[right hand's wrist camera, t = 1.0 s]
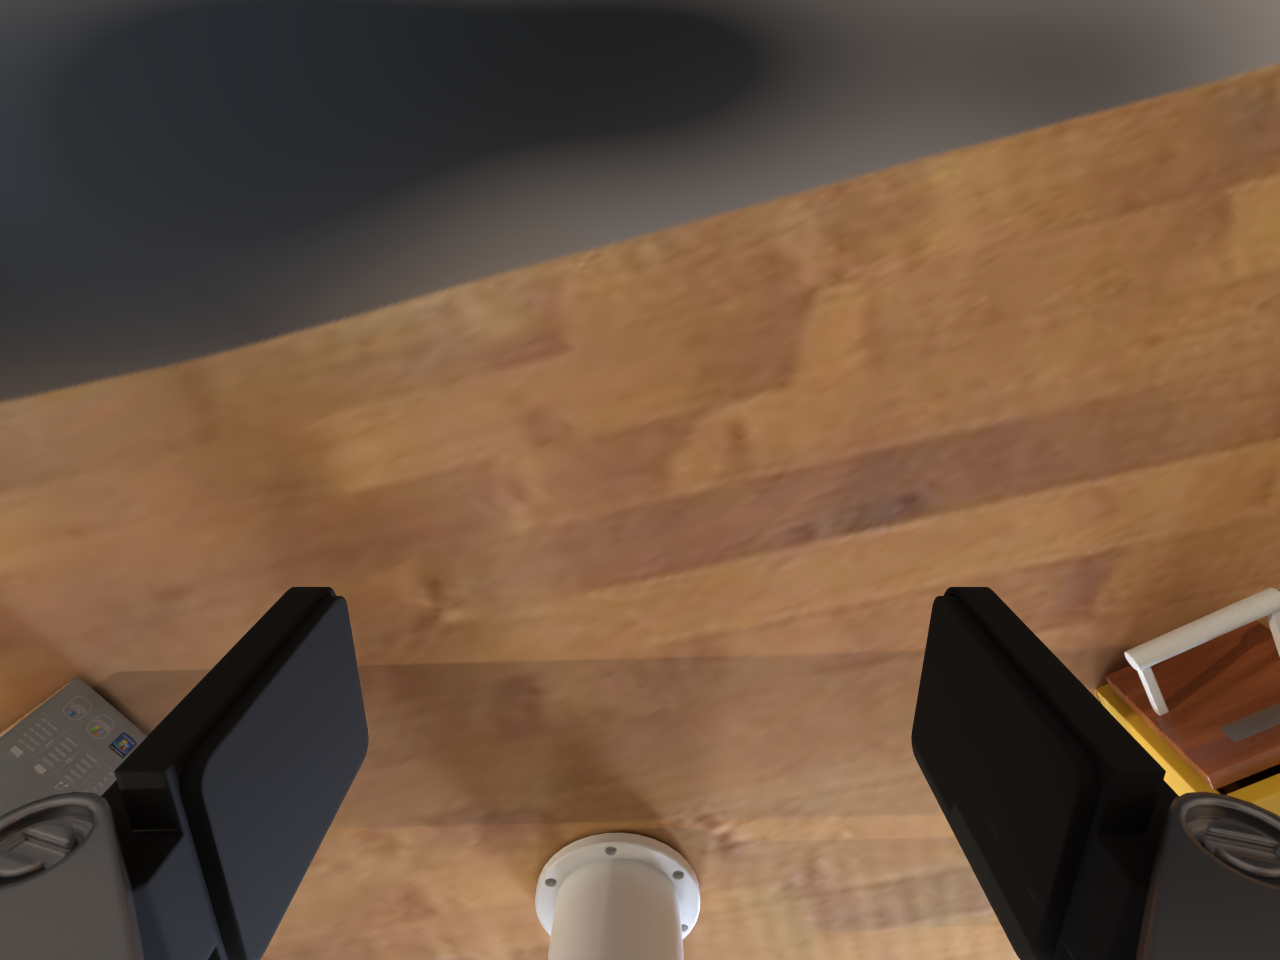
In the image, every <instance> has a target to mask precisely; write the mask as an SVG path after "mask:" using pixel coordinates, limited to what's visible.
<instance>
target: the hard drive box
mask: <svg viewBox="0 0 1280 960" xmlns="http://www.w3.org/2000/svg"><path fill="white" fill-rule="evenodd" d="M146 737H147V735H146V734H144V733H143V732H142V731H141V730H140V729H139V728H137V727H136V726H135V725H134V724H132V723H131V722H130V721H129V720H128V719H127V718H126V717H125V716H123V715H122V714H121V713H120V712H119V711H117V710H116V709H115V708H114V707H113V706H112V705H110V704H109V703H108V702H107V701H106V700H105V699H104V698H102V697H101V696H100V695H99V694H98V693H97V692H95V691H94V690H93V689H92V688H91V687H89V686H88V685H87V684H86V683H85V682H84V681H83V680H81V679H79V678H76V679H74V680H72V681H71V682H69V683H68V684H66V685H65V686H64V687H62V688H61V689H59V690H58V691H57V692H55V693H54V694H53V695H51V696H50V697H49V698H47V699H46V700H45V701H43V702H42V703H40V704H39V705H38V706H36V707H35V708H34V709H32V710H31V711H30V712H28V713H27V714H26V715H24V716H23V717H22V718H20V719H19V720H17V721H16V722H15V723H13V724H12V725H11V726H9V727H8V728H7V729H5V730H4V731H3V732H1V733H0V816H2V815H3V814H5V813H8V812H10V811H12V810H14V809H16V808H18V807H21V806H23V805H25V804H27V803H29V802H32V801H36V800H39V799H42V798H45V797H48V796H52V795H56V794H63V793H69V792H89V793H95V794H97V795H99V796H102V794H103V793H104V792H105V791H106V790H107V789H108V788H109V787H110V786H111V785H112V784H113V783H114V782H115V781H116V780H117V779H116V776H115V773H114V771H115V770H116V769H117V768H118V767H119V765H120V764H121V763H122V762H123V761H124V760H125V759H126V758H127V757H128V756H129V755H130V754H131V753H132V752H133V751H134V750H135V749H136V748H137V747H138V746H139V745H140V744H141V743H142V742H143V740H144V739H145V738H146Z"/></svg>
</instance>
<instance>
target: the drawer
mask: <svg viewBox="0 0 1280 960" xmlns="http://www.w3.org/2000/svg"><path fill="white" fill-rule="evenodd" d="M1265 616H1266V617H1267V620H1268V623H1269V626H1270V629H1271V630H1269V629H1268V628H1266V627H1265V626H1263V625H1262V624H1260V623H1259V622H1257V621H1256V620H1258V619H1260V618H1262V617H1265ZM1124 654H1125V657H1126V659H1127V661H1128V662H1129V663H1130V665H1129V666H1127V667H1125V668H1122V669H1120V670H1118V671H1116V672H1113V673H1111V674H1109V675H1106V679H1107V681H1108V683H1109V686H1110V688H1111V689H1112V690H1113V691H1114V692H1115V693H1116V694H1117V695H1118V696H1119V697H1120V698H1121V699H1122V700H1123V701H1124V702H1125V703H1126V704H1127V705H1128V706H1129V707H1130V708H1131V709H1132V710H1133V711H1134V712H1135V713H1136V714H1137V715H1138V716H1139V717H1140V718H1141V719H1142V720H1143V721H1144V722H1145V723H1146V724H1147V725H1148V726H1149V727H1150V728H1151V729H1152V730H1153V731H1154V732H1155V733H1156V734H1157V735H1158V736H1159V737H1160V738H1161V739H1162V740H1163V741H1164V742H1165V743H1166V744H1167V745H1168V746H1169V747H1170V748H1171V749H1172V750H1173V751H1174V752H1175V753H1176V754H1177V755H1178V756H1179V757H1180V758H1181V759H1182V760H1183V761H1184V762H1185V763H1186V764H1187V765H1188V766H1189V767H1190V768H1191V769H1192V770H1193V771H1194V772H1195V773H1196V774H1197V775H1198V776H1199V777H1200V778H1201V779H1202V780H1203V781H1204V782H1205V783H1206V784H1207V785H1208V786H1209V787H1210V788H1211V789H1213V790H1216V789H1217V790H1218V791H1219V792H1220V793H1221V794H1224V795H1226V794H1229V793H1231V792H1234V791H1236V790H1239V789H1241V788H1244V787H1246V786H1249V785H1251V784H1254V783H1256V782H1259V781H1261V780H1264V779H1266V778H1269V777H1271V776H1274V775H1276V774H1279V773H1280V591H1279V590H1277V589H1276V588H1273V587H1269V588H1267V589H1265V590H1262V591H1260V592H1258V593H1256V594H1253V595H1251V596H1249V597H1247V598H1244V599H1242V600H1240V601H1238V602H1235V603H1233V604H1231V605H1229V606H1226V607H1224V608H1222V609H1220V610H1217V611H1215V612H1213V613H1211V614H1208V615H1206V616H1204V617H1202V618H1199V619H1197V620H1195V621H1193V622H1190V623H1188V624H1186V625H1184V626H1181V627H1179V628H1177V629H1175V630H1172V631H1170V632H1168V633H1166V634H1163V635H1161V636H1159V637H1157V638H1154V639H1152V640H1150V641H1148V642H1145V643H1143V644H1141V645H1139V646H1136V647H1134V648H1132V649H1129V650H1127V651H1125V652H1124Z"/></svg>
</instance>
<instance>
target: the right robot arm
mask: <svg viewBox="0 0 1280 960" xmlns="http://www.w3.org/2000/svg"><path fill="white" fill-rule="evenodd" d="M367 748H368V729H367V723H366V717H365V711H364V705H363V698H362V692H361V686H360V680H359V674H358V668H357V662H356V656H355V650H354V644H353V638H352V631H351V625H350V619H349V613H348V607H347V603H346V600H345V598H344V597H342V596H336V594H335V592H334V590H333V589H332V588H330V587H292V588H290V589H289V590H288V591H287V592H286V593H285V594H284V595H283V596H282V597H281V598H280V599H279V600H278V601H277V602H276V603H275V604H274V605H273V606H272V607H271V608H270V609H269V610H268V611H267V612H266V613H265V615H264V616H263V617H262V618H261V619H260V620H259V621H258V622H257V623H256V624H255V625H254V626H253V627H252V628H251V629H250V630H249V631H248V632H247V633H246V634H245V635H244V636H243V637H242V638H241V639H240V641H239V642H238V643H237V644H236V645H235V646H234V647H233V648H232V649H231V650H230V651H229V652H228V653H227V654H226V655H225V656H224V657H223V658H222V659H221V660H220V661H219V662H218V663H217V664H216V666H215V667H214V668H213V669H212V670H211V671H210V672H209V673H208V674H207V675H206V676H205V677H204V678H203V679H202V680H201V681H200V682H199V683H198V684H197V685H196V686H195V687H194V688H193V689H192V691H191V692H190V693H189V694H188V695H187V696H186V697H185V698H184V699H183V700H182V701H181V702H180V703H179V704H178V705H177V706H176V707H175V708H174V709H173V710H172V711H171V712H170V713H169V714H168V715H167V717H166V718H165V719H164V720H163V721H162V722H161V723H160V724H159V725H158V726H157V727H156V728H155V729H154V730H153V731H152V732H151V733H150V734H149V735H148V736H147V737H146V738H145V739H144V740H143V742H142V743H141V744H140V745H139V746H138V747H137V748H136V749H135V750H134V751H133V752H132V753H131V754H130V755H129V756H128V757H127V758H126V759H125V760H124V761H123V762H122V763H121V764H120V765H119V767H118V768H117V769H116V770H115V771H114V773H115V776H116V779H117V780H116V781H115V782H114V783H113V784H112V785H111V786H110V787H109V788H108V789H107V790H106V791H105V792H104V793H103V794H102V796H99V795H97V794H95V793H89V792H69V793H63V794H56V795H52V796H48V797H45V798H42V799H39V800H36V801H32V802H29V803H27V804H25V805H23V806H21V807H18V808H16V809H14V810H12V811H10V812H8V813H5V814H3V815H2V816H0V960H260V959H261V957H262V956H263V954H264V952H265V951H266V949H267V947H268V945H269V943H270V941H271V939H272V937H273V935H274V933H275V931H276V929H277V927H278V925H279V924H280V922H281V920H282V918H283V916H284V914H285V912H286V910H287V908H288V906H289V904H290V902H291V900H292V898H293V896H294V894H295V892H296V891H297V889H298V887H299V885H300V883H301V881H302V879H303V877H304V875H305V873H306V871H307V869H308V867H309V865H310V863H311V861H312V859H313V858H314V856H315V854H316V852H317V850H318V848H319V846H320V844H321V842H322V840H323V838H324V836H325V834H326V832H327V830H328V828H329V826H330V825H331V823H332V821H333V819H334V817H335V815H336V813H337V811H338V809H339V807H340V805H341V803H342V801H343V799H344V797H345V795H346V793H347V792H348V790H349V788H350V786H351V784H352V782H353V780H354V778H355V776H356V774H357V772H358V770H359V768H360V766H361V764H362V762H363V760H364V758H365V756H366V752H367ZM912 748H913V752H914V756H915V758H916V760H917V762H918V764H919V766H920V768H921V770H922V772H923V774H924V776H925V778H926V780H927V782H928V784H929V786H930V788H931V790H932V792H933V793H934V795H935V797H936V799H937V801H938V803H939V805H940V807H941V809H942V811H943V813H944V815H945V817H946V819H947V821H948V823H949V825H950V826H951V828H952V830H953V832H954V834H955V836H956V838H957V840H958V842H959V844H960V846H961V848H962V850H963V852H964V854H965V856H966V858H967V859H968V861H969V863H970V865H971V867H972V869H973V871H974V873H975V875H976V877H977V879H978V881H979V883H980V885H981V887H982V889H983V891H984V892H985V894H986V896H987V898H988V900H989V902H990V904H991V906H992V908H993V910H994V912H995V914H996V916H997V918H998V920H999V922H1000V924H1001V925H1002V927H1003V929H1004V931H1005V933H1006V935H1007V937H1008V939H1009V941H1010V943H1011V945H1012V947H1013V949H1014V951H1015V952H1016V954H1017V956H1018V957H1019V959H1020V960H1280V816H1278V815H1277V814H1275V813H1272V812H1270V811H1268V810H1266V809H1264V808H1262V807H1259V806H1257V805H1255V804H1253V803H1251V802H1248V801H1244V800H1241V799H1238V798H1235V797H1232V796H1228V795H1224V794H1217V793H1211V792H1191V793H1185V794H1183V795H1181V796H1178V794H1177V793H1176V792H1175V791H1174V790H1173V789H1172V788H1171V787H1170V786H1169V785H1168V784H1167V783H1166V782H1165V781H1164V780H1163V779H1164V776H1165V773H1166V771H1165V770H1164V769H1163V768H1162V767H1161V765H1160V764H1159V763H1158V762H1157V761H1156V760H1155V759H1154V758H1153V757H1152V756H1151V755H1150V754H1149V753H1148V752H1147V751H1146V750H1145V749H1144V748H1143V747H1142V746H1141V745H1140V744H1139V743H1138V742H1137V740H1136V739H1135V738H1134V737H1133V736H1132V735H1131V734H1130V733H1129V732H1128V731H1127V730H1126V729H1125V728H1124V727H1123V726H1122V725H1121V724H1120V723H1119V722H1118V721H1117V720H1116V719H1115V718H1114V717H1113V715H1112V714H1111V713H1110V712H1109V711H1108V710H1107V709H1106V708H1105V707H1104V706H1103V705H1102V704H1101V703H1100V702H1099V701H1098V700H1097V699H1096V698H1095V697H1094V696H1093V695H1092V694H1091V693H1090V692H1089V691H1088V689H1087V688H1086V687H1085V686H1084V685H1083V684H1082V683H1081V682H1080V681H1079V680H1078V679H1077V678H1076V677H1075V676H1074V675H1073V674H1072V673H1071V672H1070V671H1069V670H1068V669H1067V668H1066V667H1065V666H1064V664H1063V663H1062V662H1061V661H1060V660H1059V659H1058V658H1057V657H1056V656H1055V655H1054V654H1053V653H1052V652H1051V651H1050V650H1049V649H1048V648H1047V647H1046V646H1045V645H1044V644H1043V643H1042V642H1041V641H1040V640H1039V638H1038V637H1037V636H1036V635H1035V634H1034V633H1033V632H1032V631H1031V630H1030V629H1029V628H1028V627H1027V626H1026V625H1025V624H1024V623H1023V622H1022V621H1021V620H1020V619H1019V618H1018V617H1017V616H1016V615H1015V613H1014V612H1013V611H1012V610H1011V609H1010V608H1009V607H1008V606H1007V605H1006V604H1005V603H1004V602H1003V601H1002V600H1001V599H1000V598H999V597H998V596H997V595H996V594H995V593H994V592H993V591H992V590H991V589H990V588H988V587H950V588H948V589H947V590H946V592H945V594H944V596H938V597H936V598H935V600H934V603H933V607H932V613H931V619H930V625H929V631H928V638H927V644H926V650H925V656H924V662H923V668H922V674H921V680H920V686H919V692H918V698H917V705H916V711H915V717H914V723H913V729H912ZM535 906H536V911H537V915H538V918H539V920H540V922H541V924H542V926H543V927H544V929H545V930H546V931H547V933H548V934H549V935H550V936H551V940H550V948H549V956H548V960H683V944H682V939H683V938H684V937H685V936H686V935H687V934H688V933H689V932H690V931H691V929H692V928H693V926H694V924H695V923H696V920H697V917H698V914H699V911H700V891H699V884H698V881H697V878H696V875H695V872H694V871H693V869H692V868H691V866H690V864H689V863H688V862H687V861H686V860H685V859H684V858H683V857H682V856H681V855H680V854H679V853H678V852H677V851H675V850H674V849H672V848H671V847H669V846H668V845H666V844H664V843H662V842H659V841H657V840H655V839H652V838H649V837H645V836H642V835H638V834H630V833H604V834H598V835H592V836H589V837H586V838H583V839H580V840H577V841H575V842H573V843H571V844H569V845H567V846H565V847H563V848H562V849H561V850H560V851H558V852H557V853H556V854H555V855H553V856H552V857H551V859H550V860H549V861H548V862H547V864H546V865H545V866H544V868H543V870H542V872H541V874H540V876H539V879H538V884H537V889H536V898H535Z"/></svg>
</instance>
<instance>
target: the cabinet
mask: <svg viewBox="0 0 1280 960" xmlns="http://www.w3.org/2000/svg"><path fill="white" fill-rule="evenodd" d="M1096 691H1097V694H1098V696H1099V698H1100V701H1101V703H1102V705H1103V706H1104V707H1105V708H1106V709H1107V710H1108V711H1109V712H1110V713H1111V714H1112V715H1113V717H1114V718H1115V719H1116V720H1117V721H1118V722H1119V723H1120V724H1121V725H1122V726H1123V727H1124V728H1125V729H1126V730H1127V731H1128V732H1129V733H1130V734H1131V735H1132V736H1133V737H1134V738H1135V739H1136V740H1137V742H1138V743H1139V744H1140V745H1141V746H1142V747H1143V748H1144V749H1145V750H1146V751H1147V752H1148V753H1149V754H1150V755H1151V756H1152V757H1153V758H1154V759H1155V760H1156V761H1157V762H1158V763H1159V764H1160V765H1161V767H1162V768H1163V769H1164V770H1165V771H1166V773H1165V776H1164V779H1163V780H1164V781H1165V782H1166V783H1167V784H1168V785H1169V786H1170V787H1171V788H1172V789H1173V790H1174V791H1175V792H1176V793H1177V794H1178V796H1181V795H1183V794H1185V793H1191V792H1211V793H1217V794H1221V793H1220V792H1219V791H1218V790H1217V789H1216V790H1213V789H1211V788H1210V787H1209V786H1208V785H1207V784H1206V783H1205V782H1204V781H1203V780H1202V779H1201V778H1200V777H1199V776H1198V775H1197V774H1196V773H1195V772H1194V771H1193V770H1192V769H1191V768H1190V767H1189V766H1188V765H1187V764H1186V763H1185V762H1184V761H1183V760H1182V759H1181V758H1180V757H1179V756H1178V755H1177V754H1176V753H1175V752H1174V751H1173V750H1172V749H1171V748H1170V747H1169V746H1168V745H1167V744H1166V743H1165V742H1164V741H1163V740H1162V739H1161V738H1160V737H1159V736H1158V735H1157V734H1156V733H1155V732H1154V731H1153V730H1152V729H1151V728H1150V727H1149V726H1148V725H1147V724H1146V723H1145V722H1144V721H1143V720H1142V719H1141V718H1140V717H1139V716H1138V715H1137V714H1136V713H1135V712H1134V711H1133V710H1132V709H1131V708H1130V707H1129V706H1128V705H1127V704H1126V703H1125V702H1124V701H1123V700H1122V699H1121V698H1120V697H1119V696H1118V695H1117V694H1116V693H1115V692H1114V691H1113V690H1112V689H1111V688H1110V686H1109V683H1108V684H1106V685H1103V686H1101V687H1099V688H1096ZM1226 795H1228V796H1232V797H1235V798H1238V799H1241V800H1244V801H1248V802H1251V803H1253V804H1255V805H1257V806H1259V807H1262V808H1264V809H1266V810H1268V811H1270V812H1272V813H1275V814H1277V815H1278V816H1280V773H1279V774H1276V775H1274V776H1271V777H1269V778H1266V779H1264V780H1261V781H1259V782H1256V783H1254V784H1251V785H1249V786H1246V787H1244V788H1241V789H1239V790H1236V791H1234V792H1231V793H1229V794H1226Z"/></svg>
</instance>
